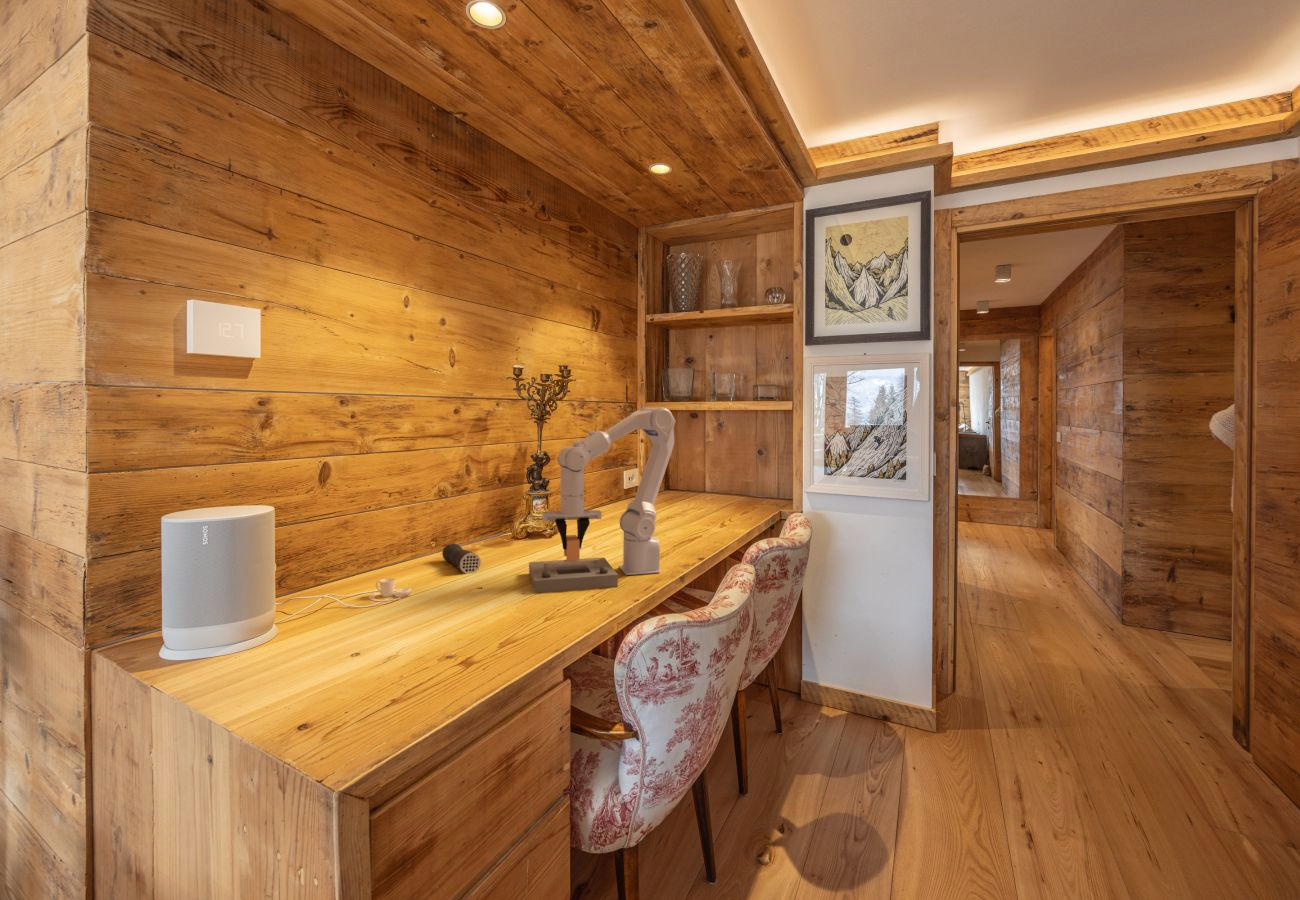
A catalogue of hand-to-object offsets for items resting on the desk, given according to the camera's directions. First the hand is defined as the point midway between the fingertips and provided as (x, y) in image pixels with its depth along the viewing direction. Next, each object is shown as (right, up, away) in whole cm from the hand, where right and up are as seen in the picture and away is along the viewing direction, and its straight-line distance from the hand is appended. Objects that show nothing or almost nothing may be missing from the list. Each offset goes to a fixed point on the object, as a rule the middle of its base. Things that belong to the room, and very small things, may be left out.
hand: (571, 548), depth 143 cm
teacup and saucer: (-39, -10, -15) cm, 43 cm away
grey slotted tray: (0, -8, +1) cm, 8 cm away
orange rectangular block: (0, -2, +1) cm, 2 cm away
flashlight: (-32, -7, +11) cm, 34 cm away
